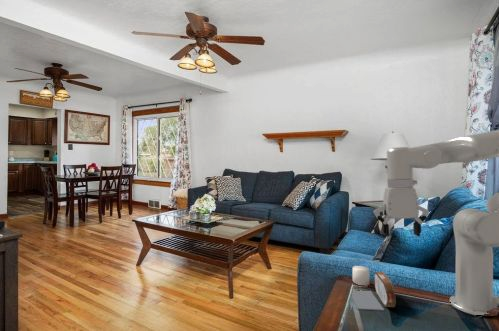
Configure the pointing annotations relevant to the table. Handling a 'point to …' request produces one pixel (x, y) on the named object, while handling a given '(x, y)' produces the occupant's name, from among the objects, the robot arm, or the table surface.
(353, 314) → the table surface
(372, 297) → the mat
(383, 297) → the tin
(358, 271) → the white rounded dome
